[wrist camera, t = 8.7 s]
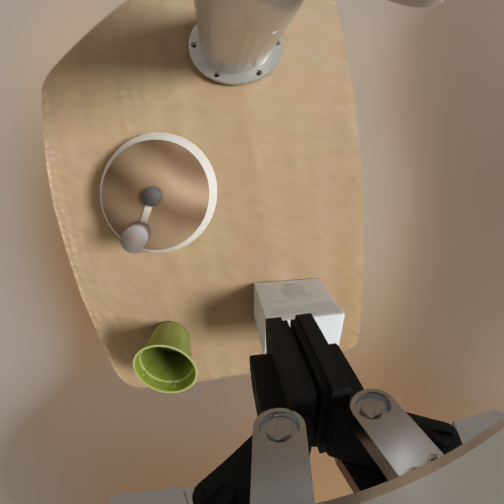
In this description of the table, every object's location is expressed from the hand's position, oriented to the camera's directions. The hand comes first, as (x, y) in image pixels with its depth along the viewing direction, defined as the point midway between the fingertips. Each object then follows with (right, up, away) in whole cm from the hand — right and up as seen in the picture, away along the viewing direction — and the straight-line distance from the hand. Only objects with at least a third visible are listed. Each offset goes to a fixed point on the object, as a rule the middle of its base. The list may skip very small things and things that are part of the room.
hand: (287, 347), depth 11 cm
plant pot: (-15, -10, +35) cm, 39 cm away
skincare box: (+4, -4, +35) cm, 36 cm away
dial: (-14, +11, +25) cm, 31 cm away
